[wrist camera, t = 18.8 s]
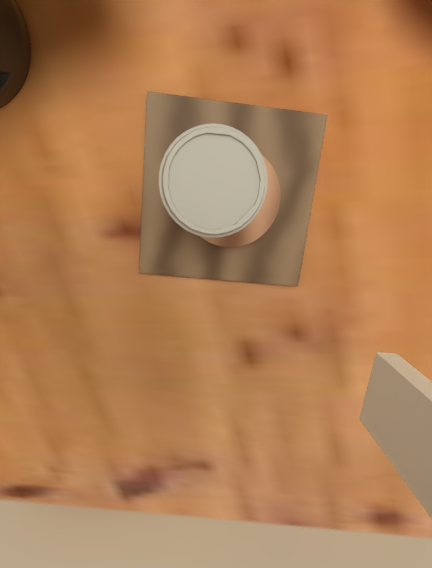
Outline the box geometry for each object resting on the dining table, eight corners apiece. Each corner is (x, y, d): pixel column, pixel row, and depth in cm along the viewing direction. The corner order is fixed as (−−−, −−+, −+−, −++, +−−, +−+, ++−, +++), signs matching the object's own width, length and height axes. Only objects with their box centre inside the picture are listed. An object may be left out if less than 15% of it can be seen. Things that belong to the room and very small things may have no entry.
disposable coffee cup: (182, 236, 41) (177, 252, 29) (157, 156, 38) (141, 139, 26) (257, 213, 40) (281, 221, 29) (237, 132, 38) (255, 105, 26)
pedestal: (140, 271, 45) (135, 278, 42) (148, 94, 40) (143, 83, 36) (295, 284, 47) (304, 292, 43) (324, 116, 42) (337, 108, 38)
